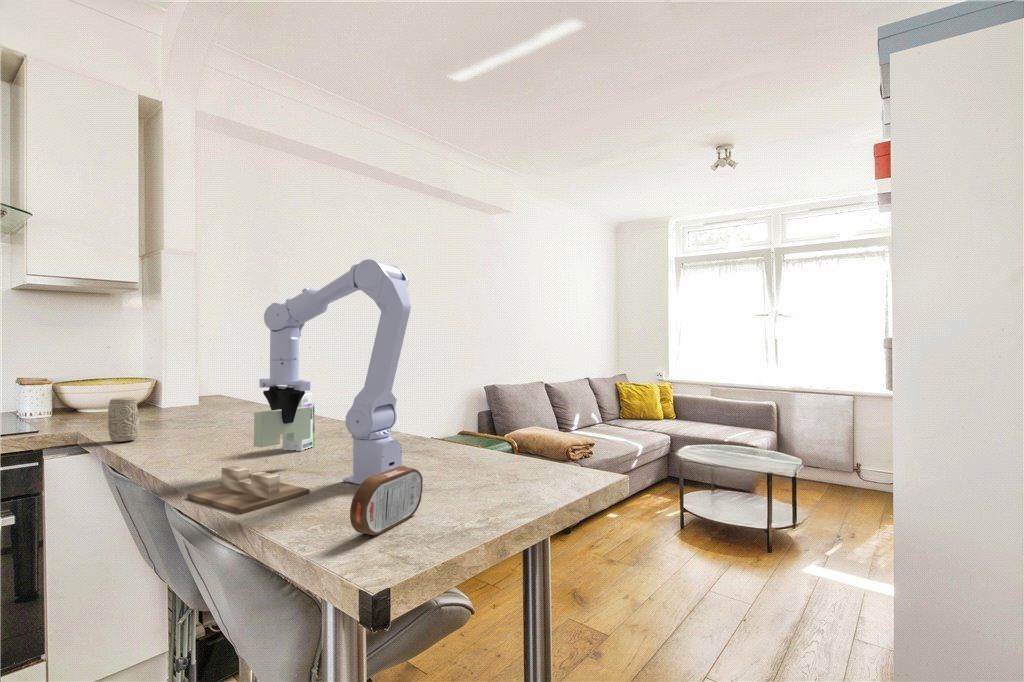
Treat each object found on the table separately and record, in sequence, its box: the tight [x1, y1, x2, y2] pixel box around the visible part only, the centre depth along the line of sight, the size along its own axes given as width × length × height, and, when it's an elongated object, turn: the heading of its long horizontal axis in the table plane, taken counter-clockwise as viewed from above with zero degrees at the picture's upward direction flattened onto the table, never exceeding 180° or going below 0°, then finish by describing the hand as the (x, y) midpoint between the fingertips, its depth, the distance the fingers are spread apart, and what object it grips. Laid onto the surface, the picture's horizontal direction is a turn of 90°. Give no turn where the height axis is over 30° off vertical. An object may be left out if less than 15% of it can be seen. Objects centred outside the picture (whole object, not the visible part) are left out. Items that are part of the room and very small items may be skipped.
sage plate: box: [253, 407, 311, 448], centre depth 109 cm, size 12×2×7 cm, turn 150°
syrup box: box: [282, 391, 316, 452], centre depth 131 cm, size 6×6×14 cm
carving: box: [107, 396, 140, 443], centre depth 139 cm, size 6×8×12 cm
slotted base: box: [186, 464, 311, 515], centre depth 91 cm, size 16×13×4 cm
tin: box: [349, 464, 424, 536], centre depth 77 cm, size 15×3×8 cm, turn 156°
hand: (283, 422), depth 109 cm, fingers closed on sage plate, 2 cm apart
